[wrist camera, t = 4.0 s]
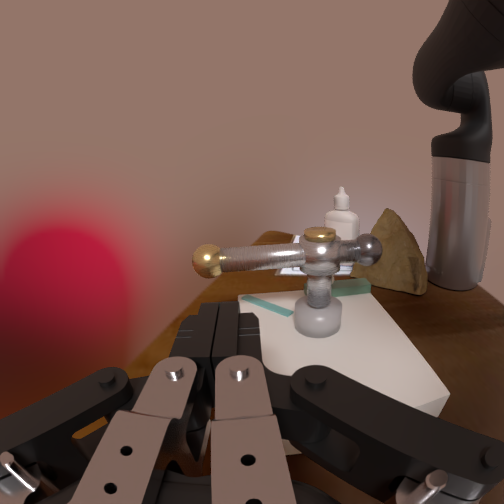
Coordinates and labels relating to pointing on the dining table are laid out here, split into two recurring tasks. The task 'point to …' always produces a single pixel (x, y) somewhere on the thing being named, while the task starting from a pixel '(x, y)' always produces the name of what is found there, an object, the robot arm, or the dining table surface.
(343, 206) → the eye dropper bottle
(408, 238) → the rock
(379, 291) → the dining table surface
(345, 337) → the stand
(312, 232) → the crank handle
